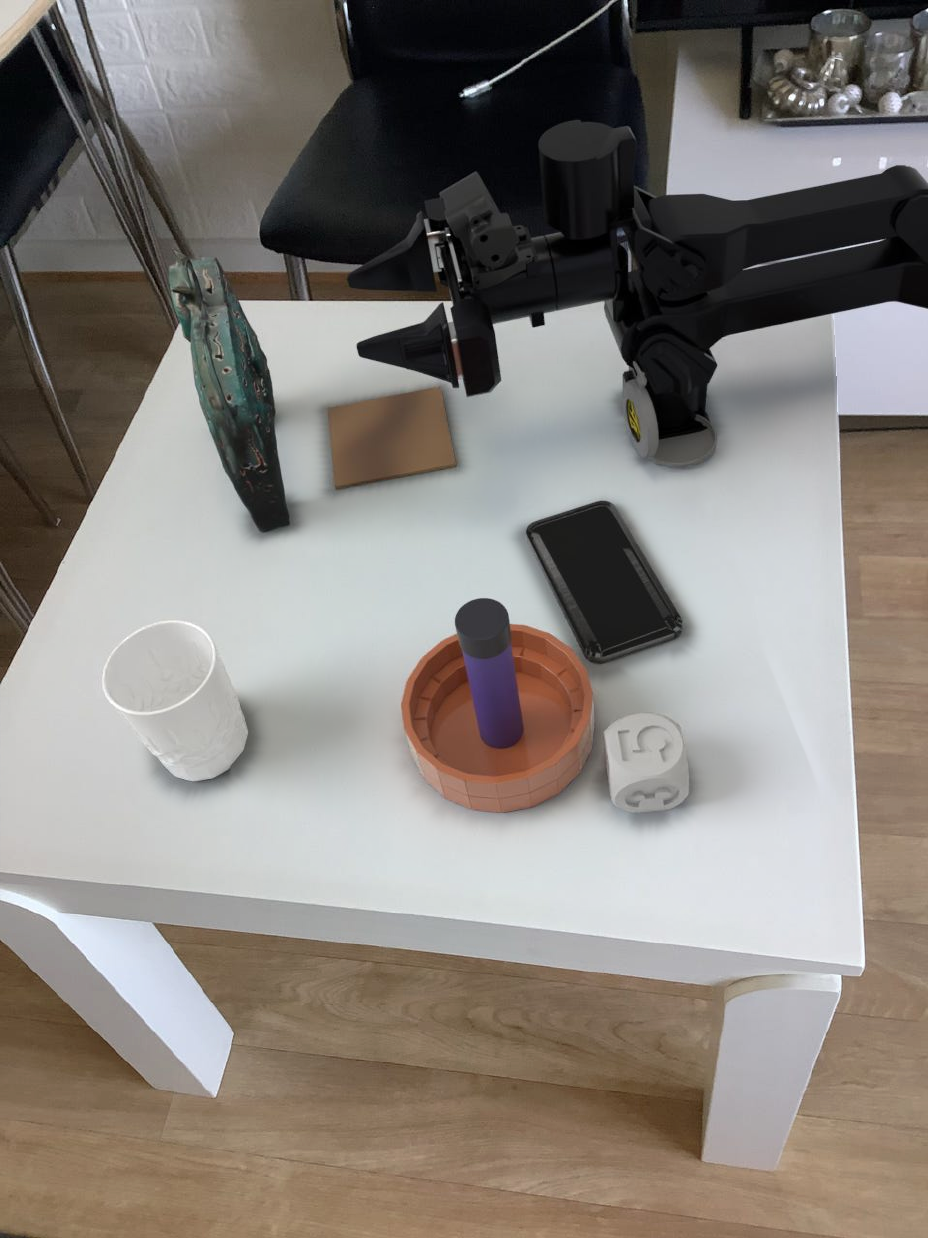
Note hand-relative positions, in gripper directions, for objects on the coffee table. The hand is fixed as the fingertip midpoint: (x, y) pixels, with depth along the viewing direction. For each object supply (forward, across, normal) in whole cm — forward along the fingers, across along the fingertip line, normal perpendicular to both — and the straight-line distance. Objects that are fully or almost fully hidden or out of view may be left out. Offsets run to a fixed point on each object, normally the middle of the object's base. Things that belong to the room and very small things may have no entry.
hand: (352, 314), depth 82 cm
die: (-14, +36, +17) cm, 42 cm away
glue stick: (-5, +30, +16) cm, 34 cm away
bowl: (-5, +30, +17) cm, 35 cm away
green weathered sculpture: (+12, -4, +17) cm, 21 cm away
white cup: (+17, +26, +17) cm, 35 cm away
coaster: (0, -4, +17) cm, 17 cm away
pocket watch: (-24, +4, +17) cm, 30 cm away
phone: (-15, +18, +17) cm, 29 cm away
